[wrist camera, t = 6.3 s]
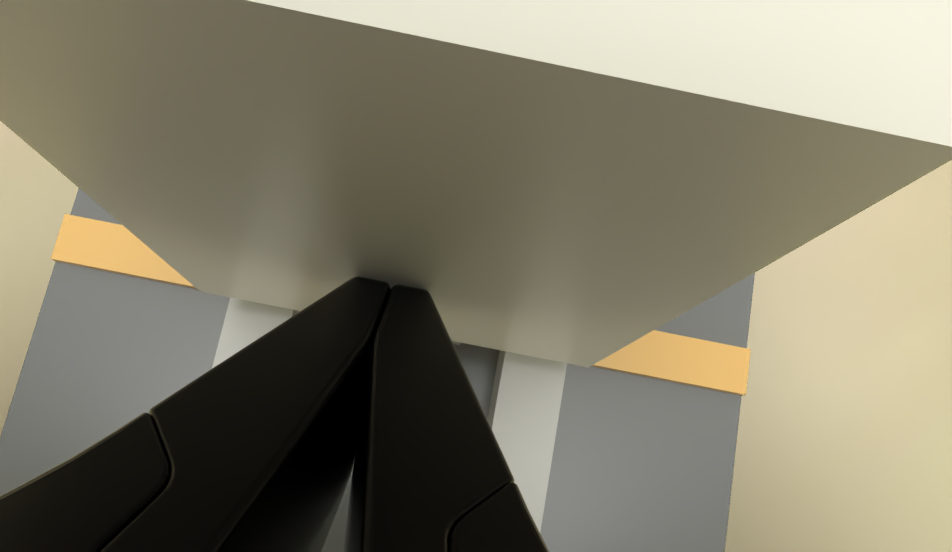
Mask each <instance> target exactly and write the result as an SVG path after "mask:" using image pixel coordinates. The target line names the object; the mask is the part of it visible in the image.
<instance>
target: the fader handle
mask: <svg viewBox="0 0 952 552" xmlns="http://www.w3.org/2000/svg"><path fill="white" fill-rule="evenodd" d="M0 121H2V122H3V123H4V124H5V125H6V126H7V127H9V128H10V129H11V130H12V131H13V132H14V133H16V134H17V135H18V136H19V137H20V138H21V139H23V140H24V141H25V142H26V143H27V144H28V145H30V146H31V147H32V148H33V149H34V150H35V151H37V152H38V153H39V154H40V155H41V156H42V157H44V158H45V159H46V160H47V161H48V162H50V163H51V164H52V165H53V166H54V167H55V168H57V169H58V170H59V171H60V172H61V173H62V174H64V175H65V176H66V177H67V178H68V179H69V180H71V181H72V182H73V183H74V184H75V185H76V186H78V187H79V188H80V189H81V190H82V191H83V192H85V193H86V194H87V195H88V196H89V197H90V198H92V199H93V200H94V201H95V202H96V203H97V204H99V205H100V206H101V207H102V208H103V209H104V210H106V211H107V212H108V213H109V214H110V215H111V216H113V217H114V218H115V219H116V220H117V221H118V222H120V223H121V224H122V225H123V226H124V227H125V228H127V229H128V230H129V231H130V232H131V233H133V234H134V235H135V236H136V237H137V238H138V239H140V240H141V241H142V242H143V243H144V244H145V245H147V246H148V247H149V248H150V249H151V250H152V251H154V252H155V253H156V254H157V255H158V256H159V257H161V258H162V259H163V260H164V261H165V262H166V263H168V264H169V265H170V266H171V267H172V268H173V269H175V270H176V271H177V272H178V273H179V274H180V275H182V276H183V277H184V278H185V279H186V280H187V281H189V282H190V283H191V284H192V285H193V286H194V287H196V288H197V289H198V290H199V291H200V292H205V293H210V294H215V295H220V296H225V297H230V298H235V299H240V300H246V301H251V302H256V303H261V304H266V305H271V306H276V307H281V308H287V309H292V310H297V311H302V310H303V309H305V308H306V307H308V306H309V305H311V304H312V303H314V302H316V301H317V300H319V299H320V298H322V297H323V296H325V295H326V294H328V293H329V292H331V291H333V290H334V289H336V288H337V287H339V286H340V285H342V284H343V283H345V282H346V281H348V280H350V279H351V278H353V277H363V278H368V279H373V280H378V281H383V282H386V283H388V284H389V285H390V288H392V287H393V286H395V285H403V286H408V287H413V288H418V289H424V290H427V291H428V292H429V293H430V295H431V297H432V299H433V301H434V303H435V305H436V308H437V310H438V312H439V314H440V316H441V319H442V321H443V323H444V325H445V327H446V330H447V332H448V334H449V336H450V338H451V341H452V343H453V344H456V345H460V344H461V343H465V344H471V345H476V346H481V347H486V348H491V349H496V350H501V351H506V352H511V353H517V354H522V355H527V356H532V357H537V358H542V359H547V360H552V361H558V362H563V363H568V364H573V365H578V366H583V367H588V368H589V367H590V366H592V365H594V364H596V363H597V362H599V361H601V360H603V359H604V358H606V357H608V356H609V355H611V354H613V353H615V352H616V351H618V350H620V349H622V348H623V347H625V346H627V345H629V344H630V343H632V342H634V341H636V340H637V339H639V338H641V337H643V336H644V335H646V334H648V333H650V332H651V331H653V330H655V329H657V328H658V327H660V326H662V325H664V324H665V323H667V322H669V321H671V320H672V319H674V318H676V317H678V316H679V315H681V314H683V313H685V312H686V311H688V310H690V309H692V308H693V307H695V306H697V305H699V304H700V303H702V302H704V301H706V300H707V299H709V298H711V297H713V296H714V295H716V294H718V293H720V292H721V291H723V290H725V289H727V288H728V287H730V286H732V285H734V284H735V283H737V282H739V281H741V280H742V279H744V278H746V277H748V276H749V275H751V274H753V273H755V272H756V271H758V270H760V269H762V268H763V267H765V266H767V265H768V264H770V263H772V262H774V261H775V260H777V259H779V258H781V257H782V256H784V255H786V254H788V253H789V252H791V251H793V250H795V249H796V248H798V247H800V246H802V245H803V244H805V243H807V242H809V241H810V240H812V239H814V238H816V237H817V236H819V235H821V234H823V233H824V232H826V231H828V230H830V229H831V228H833V227H835V226H837V225H838V224H840V223H842V222H844V221H845V220H847V219H849V218H851V217H852V216H854V215H856V214H858V213H859V212H861V211H863V210H865V209H866V208H868V207H870V206H872V205H873V204H875V203H877V202H879V201H880V200H882V199H884V198H886V197H887V196H889V195H891V194H893V193H894V192H896V191H898V190H900V189H901V188H903V187H905V186H907V185H908V184H910V183H912V182H914V181H915V180H917V179H919V178H921V177H922V176H924V175H926V174H927V173H929V172H931V171H933V170H934V169H936V168H938V167H940V166H941V165H943V164H945V163H947V162H948V161H950V160H952V0H0Z"/></svg>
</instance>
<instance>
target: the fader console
mask: <svg viewBox="0 0 952 552" xmlns="http://www.w3.org/2000/svg"><path fill="white" fill-rule="evenodd" d="M51 259H53V260H54V261H56V262H55V265H54V269H53V272H52V275H51V278H50V281H49V284H48V288H47V291H46V294H45V297H44V300H43V304H42V307H41V310H40V313H39V316H38V319H37V323H36V326H35V329H34V332H33V335H32V338H31V342H30V345H29V348H28V351H27V354H26V358H25V361H24V364H23V367H22V370H21V373H20V377H19V380H18V383H17V386H16V389H15V392H14V396H13V399H12V402H11V405H10V408H9V412H8V415H7V418H6V421H5V424H4V427H3V431H2V434H1V437H0V496H1V495H3V494H5V493H7V492H9V491H11V490H13V489H15V488H16V487H18V486H20V485H22V484H24V483H26V482H27V481H29V480H31V479H33V478H35V477H37V476H38V475H40V474H42V473H44V472H46V471H48V470H50V469H51V468H53V467H55V466H57V465H59V464H61V463H62V462H64V461H66V460H68V459H70V458H71V457H73V456H75V455H76V454H78V453H80V452H81V451H83V450H85V449H86V448H88V447H89V446H91V445H93V444H94V443H96V442H98V441H99V440H101V439H103V438H104V437H106V436H108V435H109V434H111V433H112V432H114V431H116V430H117V429H119V428H120V427H122V426H123V425H125V424H127V423H128V422H130V421H131V420H133V419H134V418H136V417H137V416H139V415H140V414H142V413H145V412H146V413H149V410H150V409H151V408H152V407H153V406H155V405H156V404H158V403H160V402H161V401H163V400H164V399H166V398H167V397H169V396H170V395H172V394H173V393H175V392H177V391H178V390H180V389H181V388H183V387H184V386H186V385H187V384H189V383H190V382H192V381H194V380H195V379H197V378H198V377H200V376H201V375H203V374H204V373H206V372H207V371H209V370H211V369H212V368H214V367H215V366H217V365H218V364H220V363H221V362H223V361H224V360H226V359H228V358H229V357H231V356H232V355H234V354H235V353H237V352H238V351H240V350H241V349H243V348H245V347H246V346H248V345H249V344H251V343H252V342H254V341H255V340H257V339H258V338H260V337H261V336H263V335H265V334H266V333H268V332H269V331H271V330H272V329H274V328H275V327H277V326H278V325H280V324H282V323H283V322H285V321H286V320H288V319H289V318H291V317H292V316H294V315H295V314H297V313H299V312H300V311H297V310H292V309H287V308H281V307H276V306H271V305H266V304H261V303H256V302H251V301H246V300H240V299H235V298H230V297H225V296H220V295H215V294H210V293H205V292H200V291H199V290H198V289H197V288H196V287H194V286H193V285H192V284H191V283H190V282H189V281H187V280H186V279H185V278H184V277H183V276H182V275H180V274H179V273H178V272H177V271H176V270H175V269H173V268H172V267H171V266H170V265H169V264H168V263H166V262H165V261H164V260H163V259H162V258H161V257H159V256H158V255H157V254H156V253H155V252H154V251H152V250H151V249H150V248H149V247H148V246H147V245H145V244H144V243H143V242H142V241H141V240H140V239H138V238H137V237H136V236H135V235H134V234H133V233H131V232H130V231H129V230H128V229H127V228H125V227H124V226H123V225H122V224H121V223H120V222H118V221H117V220H116V219H115V218H114V217H113V216H111V215H110V214H109V213H108V212H107V211H106V210H104V209H103V208H102V207H101V206H100V205H99V204H97V203H96V202H95V201H94V200H93V199H92V198H90V197H89V196H88V195H87V194H86V193H85V192H83V191H82V190H81V189H80V188H79V189H78V192H77V196H76V199H75V202H74V205H73V208H72V211H71V215H69V214H65V215H64V219H63V222H62V225H61V228H60V231H59V234H58V238H57V241H56V244H55V247H54V250H53V253H52V257H51ZM754 274H755V273H753V274H751V275H749V276H748V277H746V278H744V279H742V280H741V281H739V282H737V283H735V284H734V285H732V286H730V287H728V288H727V289H725V290H723V291H721V292H720V293H718V294H716V295H714V296H713V297H711V298H709V299H707V300H706V301H704V302H702V303H700V304H699V305H697V306H695V307H693V308H692V309H690V310H688V311H686V312H685V313H683V314H681V315H679V316H678V317H676V318H674V319H672V320H671V321H669V322H667V323H665V324H664V325H662V326H660V327H658V328H657V329H655V330H653V331H651V332H650V333H648V334H646V335H644V336H643V337H641V338H639V339H637V340H636V341H634V342H632V343H630V344H629V345H627V346H625V347H623V348H622V349H620V350H618V351H616V352H615V353H613V354H611V355H609V356H608V357H606V358H604V359H603V360H601V361H599V362H597V363H596V364H594V365H592V366H590V367H589V368H588V367H583V366H578V365H573V364H568V363H563V362H558V361H552V360H547V359H542V358H537V357H532V356H527V355H522V354H517V353H511V352H506V351H501V350H496V349H491V348H486V347H481V346H476V345H471V344H465V343H461V344H460V345H456V344H453V345H454V347H455V349H456V352H457V354H458V356H459V358H460V360H461V363H462V365H463V367H464V369H465V372H466V374H467V376H468V378H469V380H470V383H471V385H472V387H473V389H474V391H475V394H476V396H477V398H478V400H479V402H480V405H481V407H482V409H483V411H484V413H485V416H486V418H487V420H488V422H489V424H490V427H491V429H492V431H493V433H494V435H495V438H496V440H497V442H498V444H499V447H500V449H501V451H502V453H503V455H504V458H505V460H506V462H507V464H508V466H509V469H510V471H511V473H512V475H513V477H514V483H515V484H517V486H518V488H519V490H520V492H521V494H522V497H523V499H524V501H525V503H526V506H527V508H528V510H529V512H530V514H531V516H532V518H533V520H534V522H535V524H536V526H537V528H538V530H539V532H540V534H541V536H542V538H543V540H544V542H545V544H546V546H547V548H548V550H549V552H724V551H725V542H726V533H727V524H728V514H729V505H730V496H731V487H732V477H733V468H734V459H735V450H736V440H737V431H738V422H739V413H740V404H741V396H742V395H746V388H747V379H748V370H749V360H750V351H751V349H747V339H748V330H749V320H750V311H751V302H752V293H753V284H754ZM353 467H354V464H353ZM352 473H353V468H352V471H351V475H350V478H349V481H348V484H347V486H346V489H345V492H344V495H343V497H342V500H341V502H340V505H339V507H338V510H337V513H336V515H335V518H334V520H333V523H332V525H331V528H330V530H329V533H328V535H327V538H326V541H325V543H324V546H323V548H322V551H321V552H343V551H344V542H345V532H346V523H347V513H348V504H349V495H350V487H351V480H352Z"/></svg>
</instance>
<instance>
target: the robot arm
mask: <svg viewBox="0 0 952 552" xmlns="http://www.w3.org/2000/svg"><path fill="white" fill-rule="evenodd" d="M353 464H354V467H353ZM352 468H353V473H352V480H351V487H350V495H349V504H348V513H347V523H346V532H345V542H344V551H343V552H549V550H548V548H547V546H546V544H545V542H544V540H543V538H542V536H541V534H540V532H539V530H538V528H537V526H536V524H535V522H534V520H533V518H532V516H531V514H530V512H529V510H528V508H527V506H526V503H525V501H524V499H523V497H522V494H521V492H520V490H519V488H518V486H517V484H515V483H514V477H513V475H512V473H511V471H510V469H509V466H508V464H507V462H506V460H505V458H504V455H503V453H502V451H501V449H500V447H499V444H498V442H497V440H496V438H495V435H494V433H493V431H492V429H491V427H490V424H489V422H488V420H487V418H486V416H485V413H484V411H483V409H482V407H481V405H480V402H479V400H478V398H477V396H476V394H475V391H474V389H473V387H472V385H471V383H470V380H469V378H468V376H467V374H466V372H465V369H464V367H463V365H462V363H461V360H460V358H459V356H458V354H457V352H456V349H455V347H454V345H453V343H452V341H451V338H450V336H449V334H448V332H447V330H446V327H445V325H444V323H443V321H442V319H441V316H440V314H439V312H438V310H437V308H436V305H435V303H434V301H433V299H432V297H431V295H430V293H429V292H428V291H427V290H424V289H418V288H413V287H408V286H403V285H395V286H393V287H392V288H390V285H389V284H388V283H386V282H383V281H378V280H373V279H368V278H363V277H353V278H351V279H350V280H348V281H346V282H345V283H343V284H342V285H340V286H339V287H337V288H336V289H334V290H333V291H331V292H329V293H328V294H326V295H325V296H323V297H322V298H320V299H319V300H317V301H316V302H314V303H312V304H311V305H309V306H308V307H306V308H305V309H303V310H302V311H300V312H299V313H297V314H295V315H294V316H292V317H291V318H289V319H288V320H286V321H285V322H283V323H282V324H280V325H278V326H277V327H275V328H274V329H272V330H271V331H269V332H268V333H266V334H265V335H263V336H261V337H260V338H258V339H257V340H255V341H254V342H252V343H251V344H249V345H248V346H246V347H245V348H243V349H241V350H240V351H238V352H237V353H235V354H234V355H232V356H231V357H229V358H228V359H226V360H224V361H223V362H221V363H220V364H218V365H217V366H215V367H214V368H212V369H211V370H209V371H207V372H206V373H204V374H203V375H201V376H200V377H198V378H197V379H195V380H194V381H192V382H190V383H189V384H187V385H186V386H184V387H183V388H181V389H180V390H178V391H177V392H175V393H173V394H172V395H170V396H169V397H167V398H166V399H164V400H163V401H161V402H160V403H158V404H156V405H155V406H153V407H152V408H151V409H150V410H149V413H146V412H145V413H142V414H140V415H139V416H137V417H136V418H134V419H133V420H131V421H130V422H128V423H127V424H125V425H123V426H122V427H120V428H119V429H117V430H116V431H114V432H112V433H111V434H109V435H108V436H106V437H104V438H103V439H101V440H99V441H98V442H96V443H94V444H93V445H91V446H89V447H88V448H86V449H85V450H83V451H81V452H80V453H78V454H76V455H75V456H73V457H71V458H70V459H68V460H66V461H64V462H62V463H61V464H59V465H57V466H55V467H53V468H51V469H50V470H48V471H46V472H44V473H42V474H40V475H38V476H37V477H35V478H33V479H31V480H29V481H27V482H26V483H24V484H22V485H20V486H18V487H16V488H15V489H13V490H11V491H9V492H7V493H5V494H3V495H1V496H0V552H321V551H322V548H323V546H324V543H325V541H326V538H327V535H328V533H329V530H330V528H331V525H332V523H333V520H334V518H335V515H336V513H337V510H338V507H339V505H340V502H341V500H342V497H343V495H344V492H345V489H346V486H347V484H348V481H349V478H350V475H351V471H352Z"/></svg>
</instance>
